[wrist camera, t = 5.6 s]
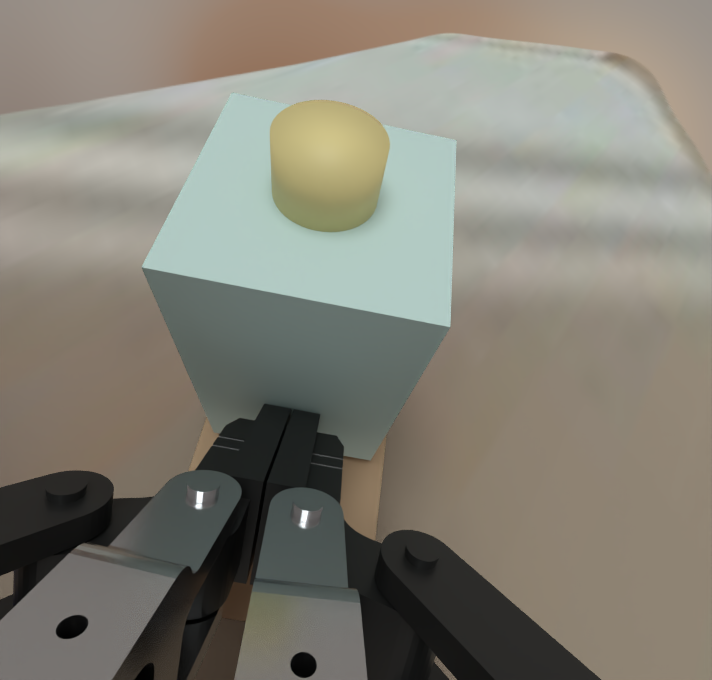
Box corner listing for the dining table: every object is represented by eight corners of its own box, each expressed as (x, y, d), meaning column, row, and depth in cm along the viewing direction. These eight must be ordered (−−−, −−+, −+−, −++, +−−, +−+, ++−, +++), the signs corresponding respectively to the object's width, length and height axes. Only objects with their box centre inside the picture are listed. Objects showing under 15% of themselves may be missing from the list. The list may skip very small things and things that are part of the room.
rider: (213, 432, 14) (115, 209, 6) (255, 304, 16) (225, 31, 9) (370, 460, 14) (477, 281, 6) (386, 329, 17) (476, 86, 9)
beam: (185, 603, 17) (127, 605, 11) (295, 229, 27) (298, 122, 21) (342, 628, 17) (373, 644, 11) (392, 249, 27) (422, 148, 21)
